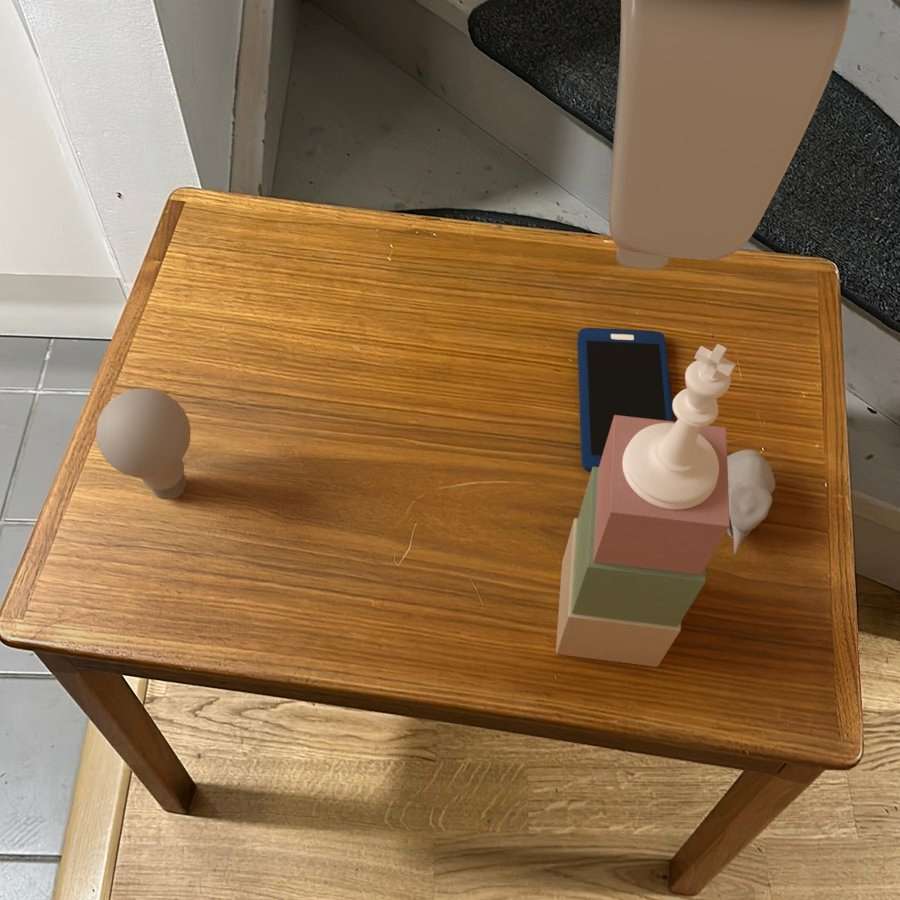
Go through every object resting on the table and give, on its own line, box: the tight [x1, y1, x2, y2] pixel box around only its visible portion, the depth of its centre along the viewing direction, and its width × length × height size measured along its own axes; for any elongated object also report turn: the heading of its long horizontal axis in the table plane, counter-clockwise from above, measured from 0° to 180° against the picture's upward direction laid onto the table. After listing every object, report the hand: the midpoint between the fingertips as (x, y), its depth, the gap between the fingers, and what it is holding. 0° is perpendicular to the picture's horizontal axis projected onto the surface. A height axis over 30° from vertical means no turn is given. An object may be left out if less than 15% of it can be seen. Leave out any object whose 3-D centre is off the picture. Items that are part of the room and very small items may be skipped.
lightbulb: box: [95, 387, 191, 501], centre depth 65 cm, size 6×6×11 cm
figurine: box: [726, 448, 776, 555], centre depth 67 cm, size 4×8×5 cm, turn 165°
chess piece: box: [622, 343, 737, 510], centre depth 44 cm, size 5×5×10 cm
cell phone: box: [576, 327, 675, 473], centre depth 74 cm, size 7×14×1 cm, turn 177°
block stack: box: [555, 415, 730, 668], centre depth 57 cm, size 7×7×20 cm
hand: (642, 164), depth 35 cm, fingers open, 8 cm apart
